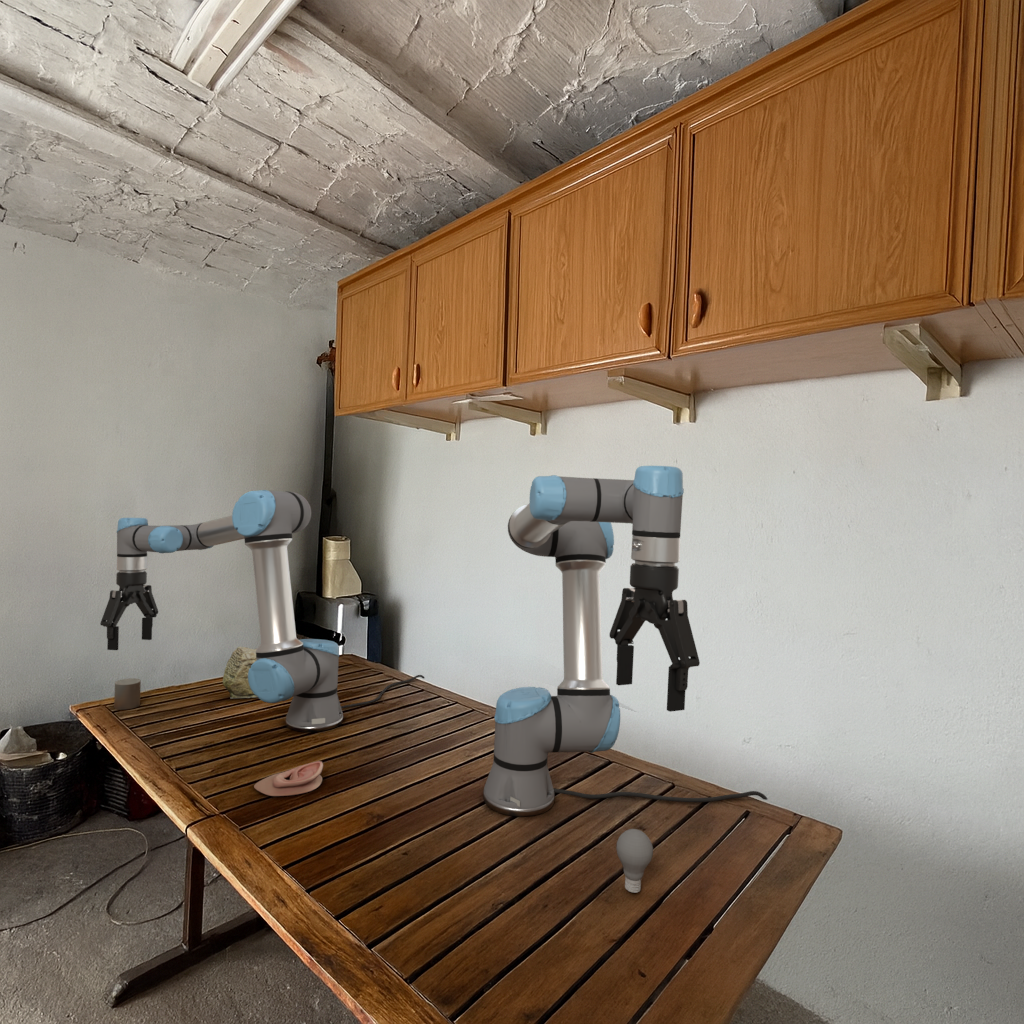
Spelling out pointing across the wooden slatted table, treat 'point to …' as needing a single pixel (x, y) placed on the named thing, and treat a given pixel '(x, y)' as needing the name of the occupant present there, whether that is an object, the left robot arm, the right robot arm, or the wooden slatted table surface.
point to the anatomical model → (292, 781)
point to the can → (127, 693)
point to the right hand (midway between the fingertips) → (648, 696)
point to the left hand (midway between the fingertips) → (130, 644)
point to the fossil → (239, 673)
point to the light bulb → (634, 857)
